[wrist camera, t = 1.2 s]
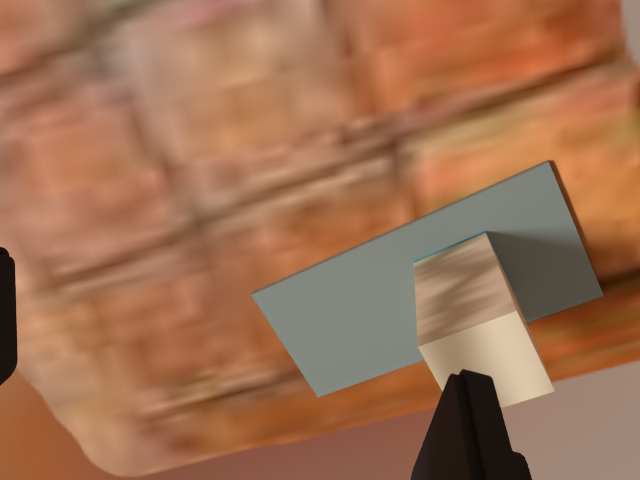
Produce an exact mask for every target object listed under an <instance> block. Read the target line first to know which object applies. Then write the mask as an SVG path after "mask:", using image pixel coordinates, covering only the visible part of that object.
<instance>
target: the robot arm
mask: <svg viewBox="0 0 640 480" xmlns="http://www.w3.org/2000/svg"><path fill="white" fill-rule="evenodd" d="M16 365H17V324H16V287H15V263H14V260H13V258H11V257H9V253H8V251H7V250H6V249H5V248H2V247H0V385H1V384H2V383H3V382H5V381H6V380H7V379H8V378H9V377H10V376H11V375H12V373H13V372H14V370H15V368H16ZM411 480H532V478H531V475H530V471H529V468H528V464H527V462H526V460H525V457H524V456H523V455H522V454H521V453H517V452H514V451H512V448H511V444H510V441H509V437H508V433H507V430H506V426H505V422H504V419H503V415H502V411H501V407H500V404H499V400H498V396H497V393H496V389H495V385H494V382H493V379H492V377H491V376H489V375H485V374H481V373H477V372H473V371H470V370H466V369H463V370H461V371H460V373H459V375H456V374H453V373H452V374H450V376H449V377H448V380H447V382H446V385H445V387H444V390H443V393H442V395H441V398H440V400H439V403H438V406H437V408H436V411H435V413H434V416H433V419H432V421H431V424H430V427H429V429H428V432H427V434H426V437H425V440H424V442H423V445H422V447H421V450H420V453H419V455H418V458H417V460H416V463H415V466H414V468H413V472H412V476H411Z"/></svg>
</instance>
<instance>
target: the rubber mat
mask: <svg viewBox="0 0 640 480" xmlns="http://www.w3.org/2000/svg"><path fill="white" fill-rule="evenodd" d="M484 231H485V232H486V234H487V236H488V238H489V240H490V242H491V245H492V247H493V249H494V251H495V253H496V255H497V257H498V259H499V262H500V264H501V266H502V268H503V270H504V272H505V274H506V276H507V278H508V281H509V283H510V285H511V287H512V289H513V291H514V293H515V296H516V298H517V301H518V303H519V305H520V308H521V310H522V313H523V315H524V317H525V320H526V322H527V323H529V322H532V321H535V320H538V319H540V318H543V317H546V316H549V315H552V314H554V313H557V312H560V311H563V310H566V309H568V308H571V307H574V306H577V305H580V304H583V303H585V302H588V301H591V300H594V299H597V298H599V297H602V296H604V295H603V292H602V290H601V287H600V285H599V282H598V280H597V278H596V275H595V273H594V270H593V268H592V266H591V263H590V261H589V258H588V256H587V253H586V251H585V249H584V246H583V244H582V241H581V239H580V236H579V234H578V232H577V229H576V227H575V224H574V222H573V219H572V217H571V215H570V212H569V210H568V207H567V205H566V202H565V200H564V198H563V195H562V193H561V190H560V188H559V186H558V183H557V181H556V178H555V176H554V173H553V171H552V169H551V166H550V164H549V162H548V161H545V162H543V163H541V164H538V165H536V166H534V167H532V168H529V169H527V170H525V171H523V172H520V173H518V174H516V175H514V176H512V177H509V178H507V179H505V180H503V181H500V182H498V183H496V184H494V185H491V186H489V187H487V188H485V189H483V190H480V191H478V192H476V193H474V194H471V195H469V196H467V197H465V198H462V199H460V200H458V201H456V202H453V203H451V204H449V205H447V206H445V207H442V208H440V209H438V210H436V211H433V212H431V213H429V214H427V215H424V216H422V217H420V218H418V219H416V220H413V221H411V222H409V223H407V224H404V225H402V226H400V227H398V228H395V229H393V230H391V231H389V232H386V233H384V234H382V235H380V236H378V237H375V238H373V239H371V240H369V241H366V242H364V243H362V244H360V245H357V246H355V247H353V248H351V249H349V250H346V251H344V252H342V253H340V254H337V255H335V256H333V257H331V258H328V259H326V260H324V261H322V262H319V263H317V264H315V265H313V266H311V267H308V268H306V269H304V270H302V271H299V272H297V273H295V274H293V275H290V276H288V277H286V278H284V279H282V280H279V281H277V282H275V283H273V284H270V285H268V286H266V287H264V288H261V289H259V290H257V291H255V292H253V293H252V297H253V298H254V300H255V301H256V303H257V305H258V306H259V308H260V309H261V311H262V312H263V314H264V315H265V317H266V318H267V320H268V321H269V323H270V325H271V326H272V328H273V329H274V331H275V332H276V334H277V335H278V337H279V338H280V340H281V341H282V343H283V345H284V346H285V348H286V349H287V351H288V352H289V354H290V355H291V357H292V358H293V360H294V362H295V363H296V365H297V366H298V368H299V369H300V371H301V372H302V374H303V375H304V377H305V378H306V380H307V382H308V383H309V385H310V386H311V388H312V389H313V391H314V392H315V394H316V395H317V397H321V396H324V395H326V394H329V393H332V392H335V391H338V390H340V389H343V388H346V387H349V386H352V385H354V384H357V383H360V382H363V381H366V380H369V379H371V378H374V377H377V376H380V375H383V374H385V373H388V372H391V371H394V370H397V369H400V368H402V367H405V366H408V365H411V364H414V363H416V362H419V361H422V360H425V359H424V357H423V355H422V353H421V352H420V350H419V348H418V340H417V320H416V300H415V281H414V261H415V260H417V259H420V258H422V257H425V256H427V255H429V254H432V253H434V252H436V251H439V250H441V249H444V248H446V247H448V246H451V245H453V244H455V243H458V242H460V241H462V240H465V239H467V238H470V237H472V236H474V235H477V234H479V233H481V232H484Z"/></svg>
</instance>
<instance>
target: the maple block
mask: <svg viewBox="0 0 640 480" xmlns="http://www.w3.org/2000/svg"><path fill="white" fill-rule="evenodd" d="M414 281H415V300H416V320H417V340H418V348H419V350H420V352H421V353H422V355H423V357H424V359H425V361H426V362H427V364H428V366H429V368H430V370H431V371H432V373H433V375H434V377H435V379H436V380H437V382H438V384H439V386H440V388H441V389H442V391H443V390H444V387H445V385H446V382H447V380H448V377H449V376H450V374H452V373H453V374H456V375H459V373H460V371H461V370H463V369H466V370H470V371H473V372H477V373H481V374H485V375H489V376H491V377H492V379H493V382H494V385H495V389H496V393H497V396H498V400H499V404H500V407H501V408H502V407H506V406H509V405H512V404H515V403H519V402H522V401H525V400H528V399H532V398H535V397H538V396H541V395H545V394H548V393H551V392H554V391H555V390H554V387H553V385H552V382H551V380H550V378H549V375H548V373H547V370H546V368H545V366H544V363H543V361H542V358H541V356H540V354H539V351H538V349H537V346H536V344H535V342H534V339H533V337H532V334H531V332H530V329H529V327H528V325H527V322H526V320H525V317H524V315H523V313H522V310H521V308H520V305H519V303H518V301H517V298H516V296H515V293H514V291H513V289H512V287H511V285H510V283H509V281H508V278H507V276H506V274H505V272H504V270H503V268H502V266H501V264H500V262H499V259H498V257H497V255H496V253H495V251H494V249H493V247H492V245H491V242H490V240H489V238H488V236H487V234H486V232H485V231H484V232H481V233H479V234H477V235H474V236H472V237H470V238H467V239H465V240H462V241H460V242H458V243H455V244H453V245H451V246H448V247H446V248H444V249H441V250H439V251H436V252H434V253H432V254H429V255H427V256H425V257H422V258H420V259H417V260H415V261H414Z"/></svg>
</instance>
